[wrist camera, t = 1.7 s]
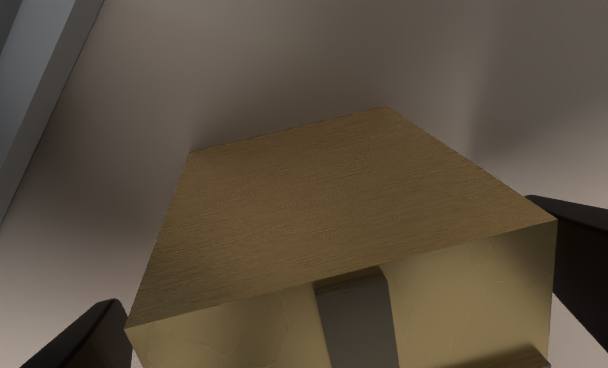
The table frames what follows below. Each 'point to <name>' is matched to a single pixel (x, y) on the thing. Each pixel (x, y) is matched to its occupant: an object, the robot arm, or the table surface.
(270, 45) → the table surface
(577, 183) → the table surface
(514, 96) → the table surface
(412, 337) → the gold square block
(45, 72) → the grey stepped stand
